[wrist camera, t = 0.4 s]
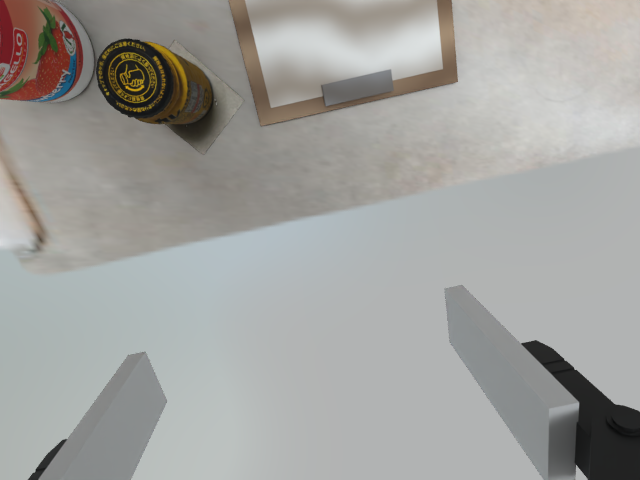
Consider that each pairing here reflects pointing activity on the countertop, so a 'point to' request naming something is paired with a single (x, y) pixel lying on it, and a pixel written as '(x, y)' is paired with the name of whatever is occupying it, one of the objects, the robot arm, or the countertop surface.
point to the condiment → (166, 89)
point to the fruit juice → (42, 52)
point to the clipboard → (341, 52)
